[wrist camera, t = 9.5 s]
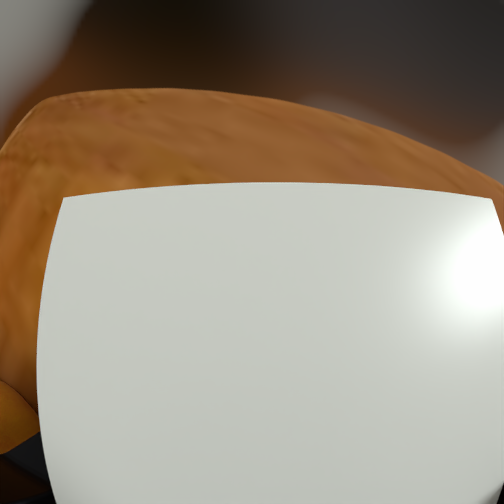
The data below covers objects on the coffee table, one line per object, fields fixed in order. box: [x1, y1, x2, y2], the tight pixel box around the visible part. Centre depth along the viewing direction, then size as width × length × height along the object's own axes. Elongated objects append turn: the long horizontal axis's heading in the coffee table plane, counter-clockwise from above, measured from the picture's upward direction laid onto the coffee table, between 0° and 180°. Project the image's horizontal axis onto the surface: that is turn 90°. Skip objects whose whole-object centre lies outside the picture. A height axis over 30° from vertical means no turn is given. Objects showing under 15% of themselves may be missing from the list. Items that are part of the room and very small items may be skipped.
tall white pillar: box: [37, 183, 504, 504], centre depth 8 cm, size 7×7×12 cm
